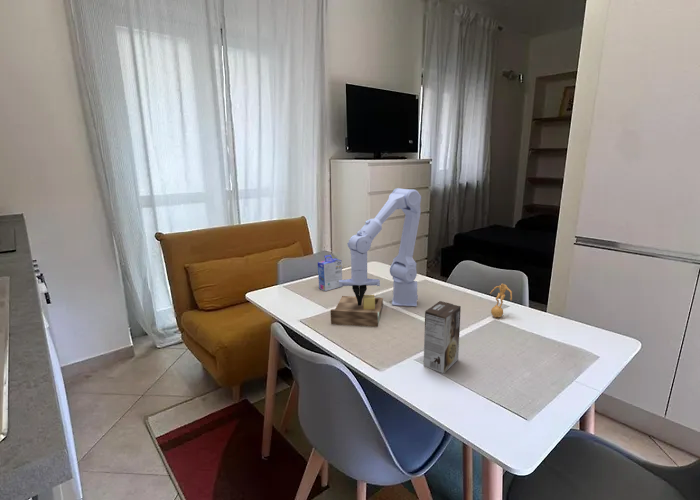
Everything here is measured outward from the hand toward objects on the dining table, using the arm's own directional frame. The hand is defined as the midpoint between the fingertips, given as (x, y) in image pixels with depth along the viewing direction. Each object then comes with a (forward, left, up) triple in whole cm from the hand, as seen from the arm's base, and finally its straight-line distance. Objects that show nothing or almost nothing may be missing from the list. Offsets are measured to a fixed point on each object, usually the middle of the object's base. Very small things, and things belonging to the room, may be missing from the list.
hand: (359, 304), depth 136 cm
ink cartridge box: (+17, -27, -4) cm, 32 cm away
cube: (-3, 0, -1) cm, 4 cm away
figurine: (-49, -4, -4) cm, 49 cm away
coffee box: (-27, +31, -4) cm, 41 cm away
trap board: (0, 0, -3) cm, 4 cm away
